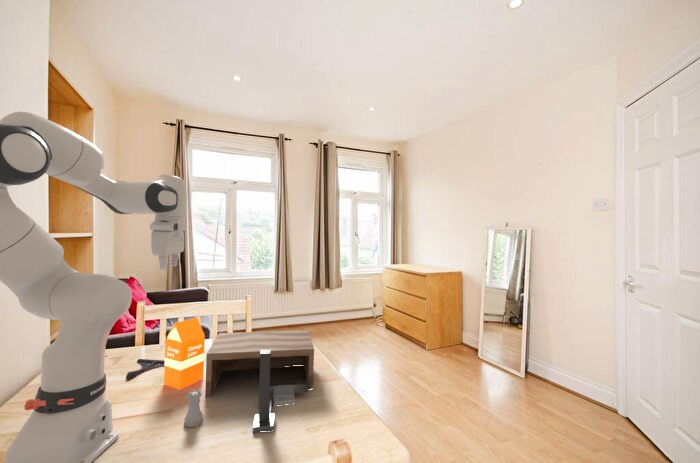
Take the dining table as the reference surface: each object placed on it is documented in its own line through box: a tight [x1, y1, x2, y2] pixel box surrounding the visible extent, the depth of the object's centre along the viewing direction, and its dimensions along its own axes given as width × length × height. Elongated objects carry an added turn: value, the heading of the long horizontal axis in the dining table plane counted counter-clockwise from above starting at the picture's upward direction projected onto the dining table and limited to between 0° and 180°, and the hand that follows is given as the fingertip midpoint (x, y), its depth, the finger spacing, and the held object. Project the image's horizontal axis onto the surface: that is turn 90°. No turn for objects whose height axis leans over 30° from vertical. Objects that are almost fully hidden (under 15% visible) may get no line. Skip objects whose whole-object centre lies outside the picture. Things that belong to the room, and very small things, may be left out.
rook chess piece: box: [183, 389, 204, 428], centre depth 83 cm, size 4×4×8 cm
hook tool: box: [252, 349, 307, 433], centre depth 89 cm, size 18×14×20 cm
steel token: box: [272, 393, 296, 407], centre depth 96 cm, size 6×6×2 cm
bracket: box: [125, 358, 165, 381], centre depth 113 cm, size 14×15×3 cm
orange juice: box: [163, 317, 206, 390], centre depth 106 cm, size 8×9×20 cm
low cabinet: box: [204, 329, 315, 398], centre depth 109 cm, size 20×32×13 cm, turn 102°
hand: (169, 267), depth 106 cm, fingers open, 8 cm apart
